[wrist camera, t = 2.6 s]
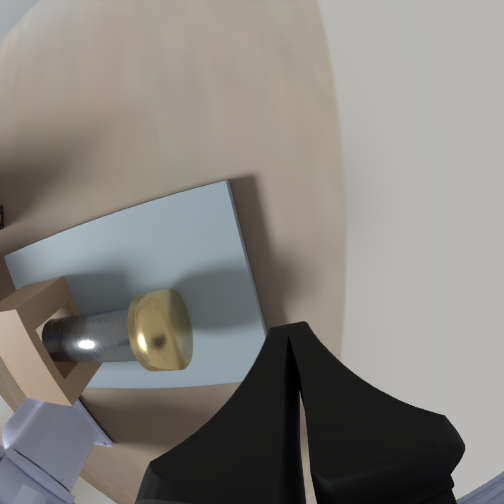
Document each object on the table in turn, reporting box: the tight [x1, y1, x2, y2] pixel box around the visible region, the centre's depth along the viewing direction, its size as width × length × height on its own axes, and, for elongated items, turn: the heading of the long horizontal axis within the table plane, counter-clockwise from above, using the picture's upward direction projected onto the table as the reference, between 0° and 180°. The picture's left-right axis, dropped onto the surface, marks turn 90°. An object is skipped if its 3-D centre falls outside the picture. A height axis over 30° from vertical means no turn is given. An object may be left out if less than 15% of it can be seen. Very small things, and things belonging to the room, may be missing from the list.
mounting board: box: [0, 179, 267, 406], centre depth 14 cm, size 18×12×6 cm, turn 103°
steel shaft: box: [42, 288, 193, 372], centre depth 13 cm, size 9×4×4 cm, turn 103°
